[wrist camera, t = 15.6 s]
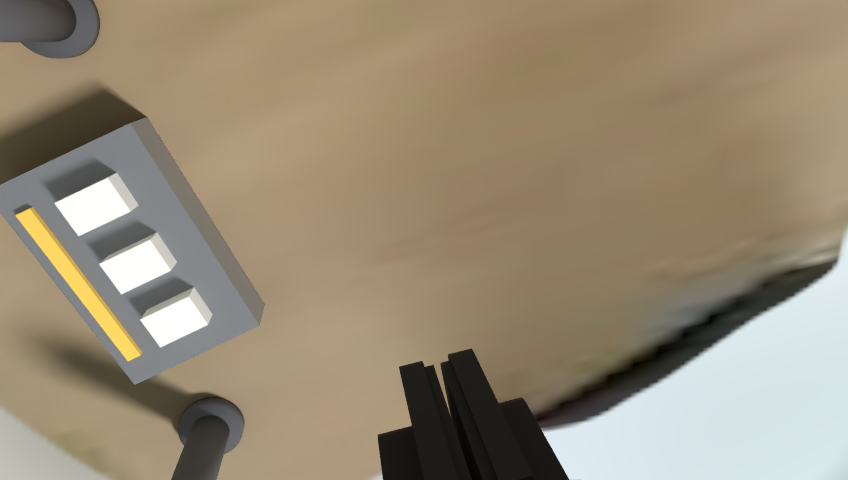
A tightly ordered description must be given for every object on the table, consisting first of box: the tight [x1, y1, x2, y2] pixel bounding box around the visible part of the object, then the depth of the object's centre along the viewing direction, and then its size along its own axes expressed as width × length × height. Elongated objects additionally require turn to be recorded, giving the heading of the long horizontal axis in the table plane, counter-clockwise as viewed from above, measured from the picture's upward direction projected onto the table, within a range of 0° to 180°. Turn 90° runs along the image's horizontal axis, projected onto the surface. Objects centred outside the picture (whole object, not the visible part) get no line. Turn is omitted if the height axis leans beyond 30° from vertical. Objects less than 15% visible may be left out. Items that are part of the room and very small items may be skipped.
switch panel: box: [0, 117, 265, 385], centre depth 39 cm, size 16×10×6 cm, turn 24°
